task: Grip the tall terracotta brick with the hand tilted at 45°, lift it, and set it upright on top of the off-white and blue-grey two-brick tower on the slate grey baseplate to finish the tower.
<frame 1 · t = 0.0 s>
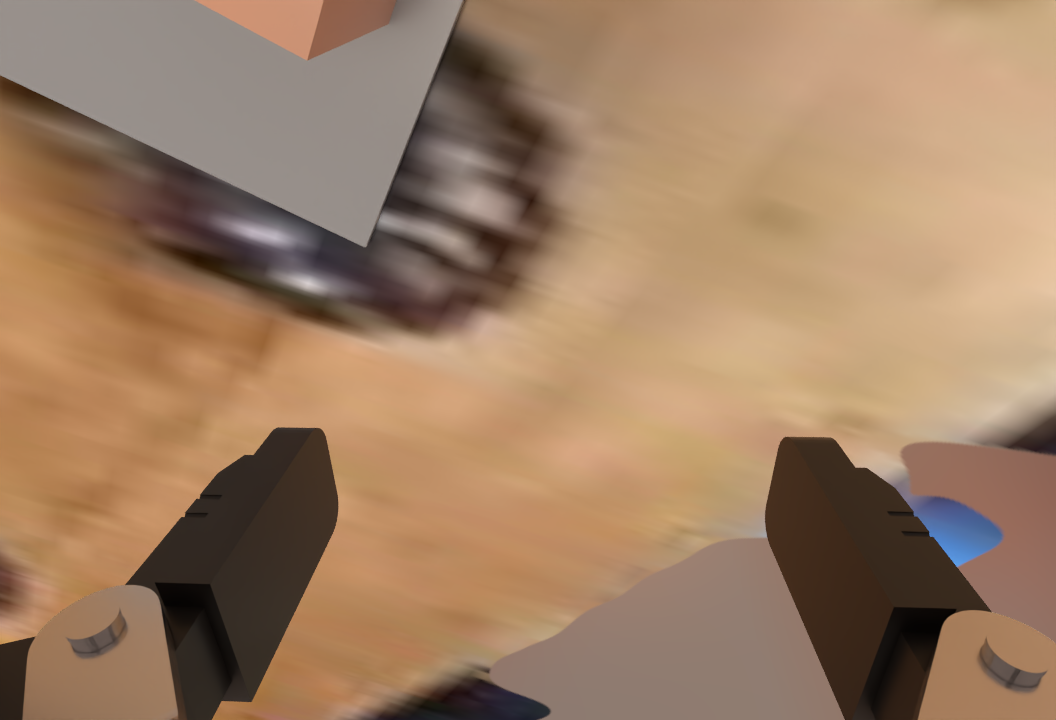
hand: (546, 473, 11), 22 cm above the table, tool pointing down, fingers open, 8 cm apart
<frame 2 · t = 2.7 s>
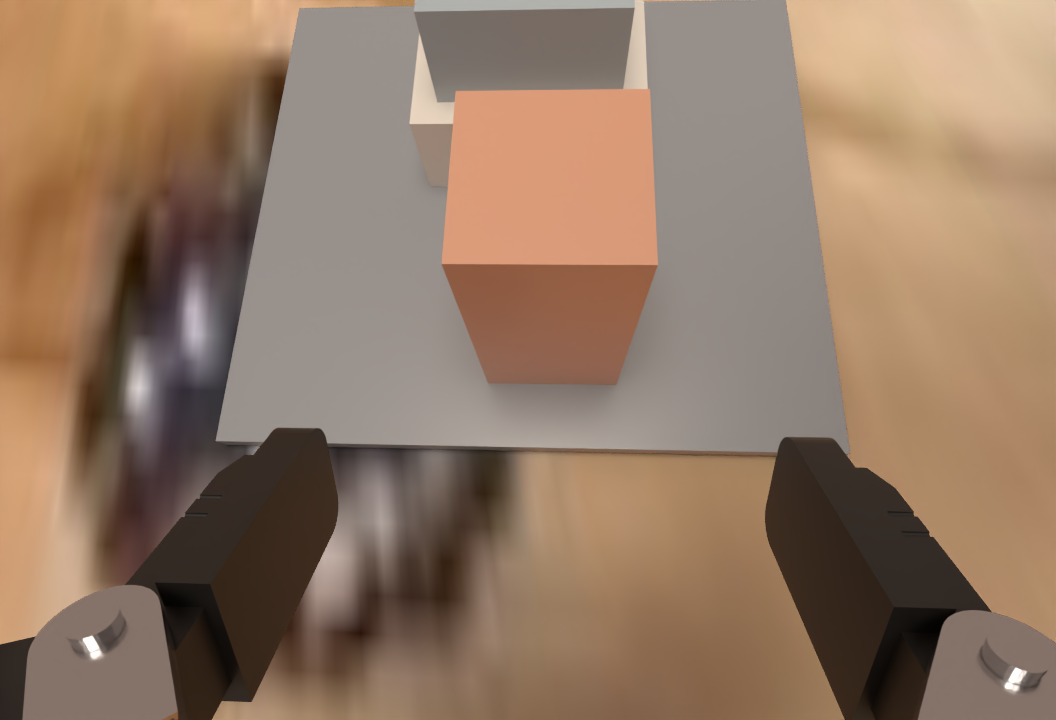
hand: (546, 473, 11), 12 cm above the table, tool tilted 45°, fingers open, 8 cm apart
baseplate: (532, 206, 27), on the table
tower base: (534, 102, 28), resting on baseplate
terracotta brick: (552, 324, 24), point 1 cm above the table, touching baseplate
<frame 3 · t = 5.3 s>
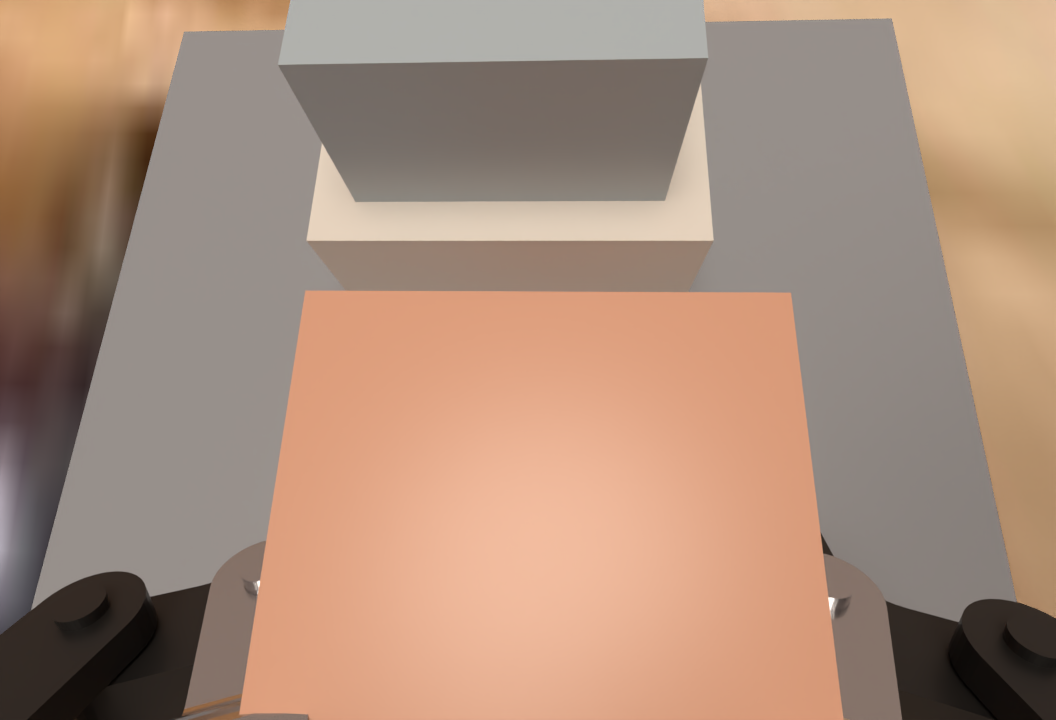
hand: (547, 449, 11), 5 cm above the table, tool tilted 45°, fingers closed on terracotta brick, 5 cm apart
baseplate: (518, 337, 18), on the table
tower base: (522, 176, 18), resting on baseplate
terracotta brick: (549, 552, 15), point 1 cm above the table, touching baseplate, gripper
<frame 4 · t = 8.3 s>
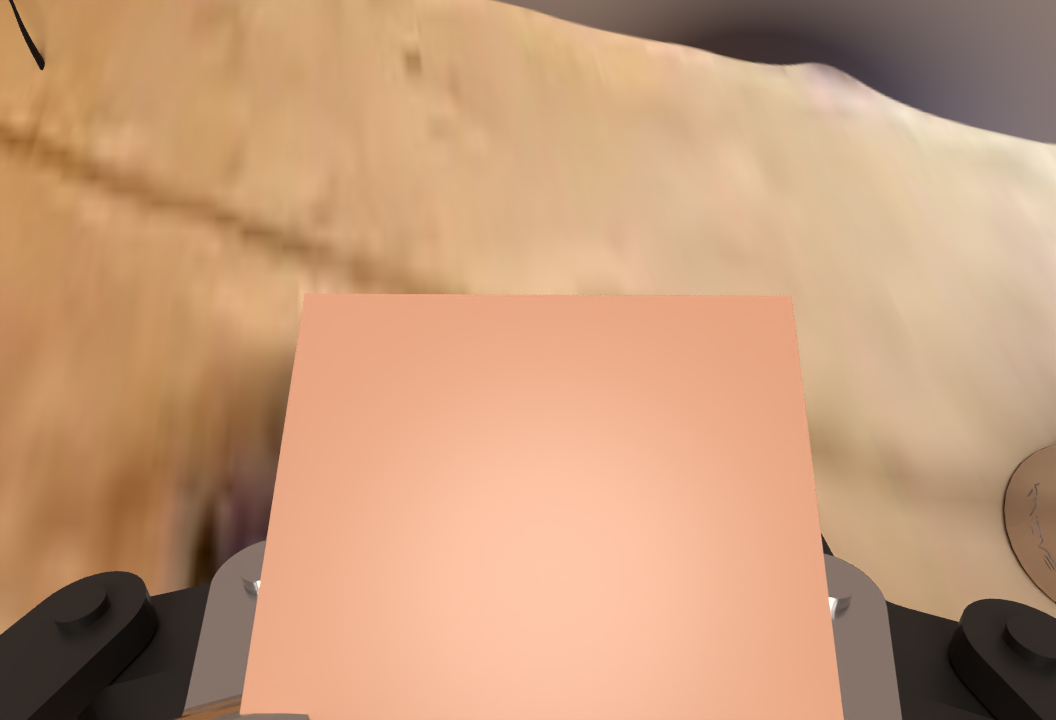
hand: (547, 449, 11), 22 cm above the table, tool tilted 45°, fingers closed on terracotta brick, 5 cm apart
terracotta brick: (549, 554, 15), point 18 cm above the table, touching gripper
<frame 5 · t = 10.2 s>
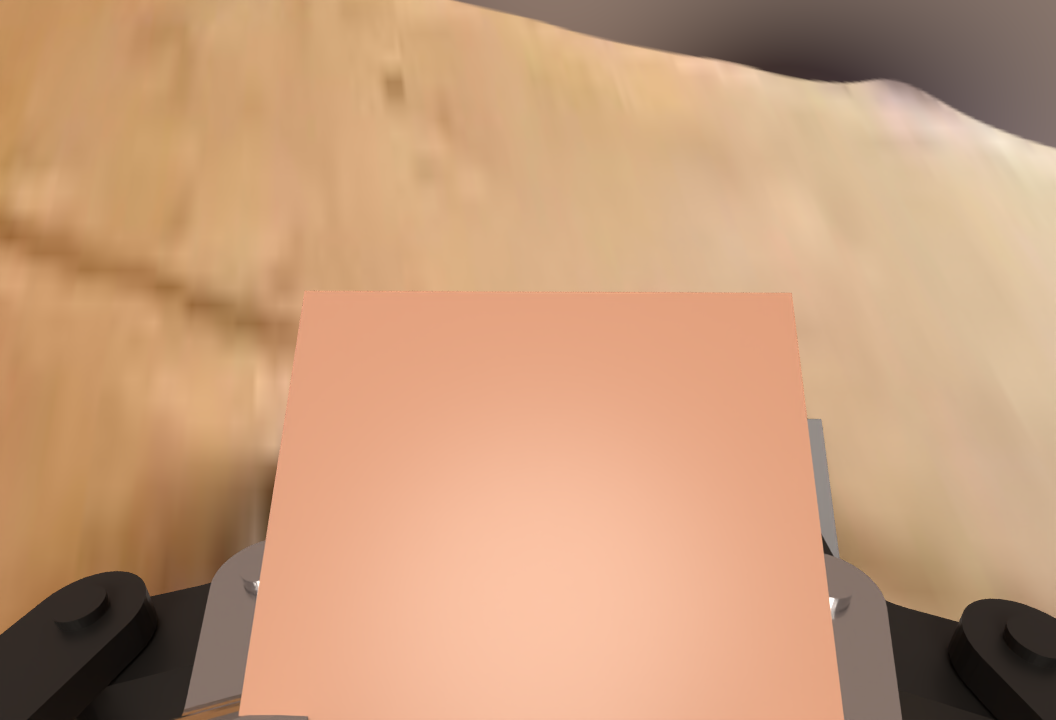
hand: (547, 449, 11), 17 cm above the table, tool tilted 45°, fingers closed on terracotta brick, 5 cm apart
baseplate: (554, 676, 25), on the table
terracotta brick: (549, 553, 15), point 12 cm above the table, touching gripper
when the fingers open (15 cm above the table, at t = 11.6 s): terracotta brick drops 1 cm, resting on tower base.
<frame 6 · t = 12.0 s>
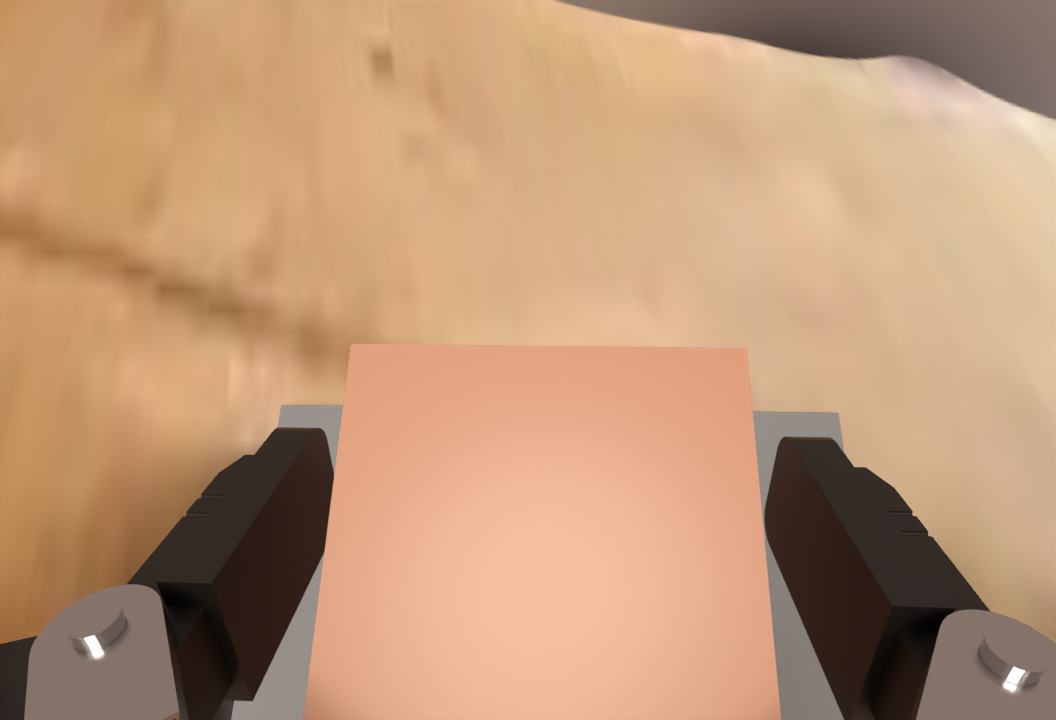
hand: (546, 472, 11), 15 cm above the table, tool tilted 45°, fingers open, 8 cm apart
baseplate: (549, 691, 23), on the table
terracotta brick: (550, 555, 16), point 9 cm above the table, touching tower base
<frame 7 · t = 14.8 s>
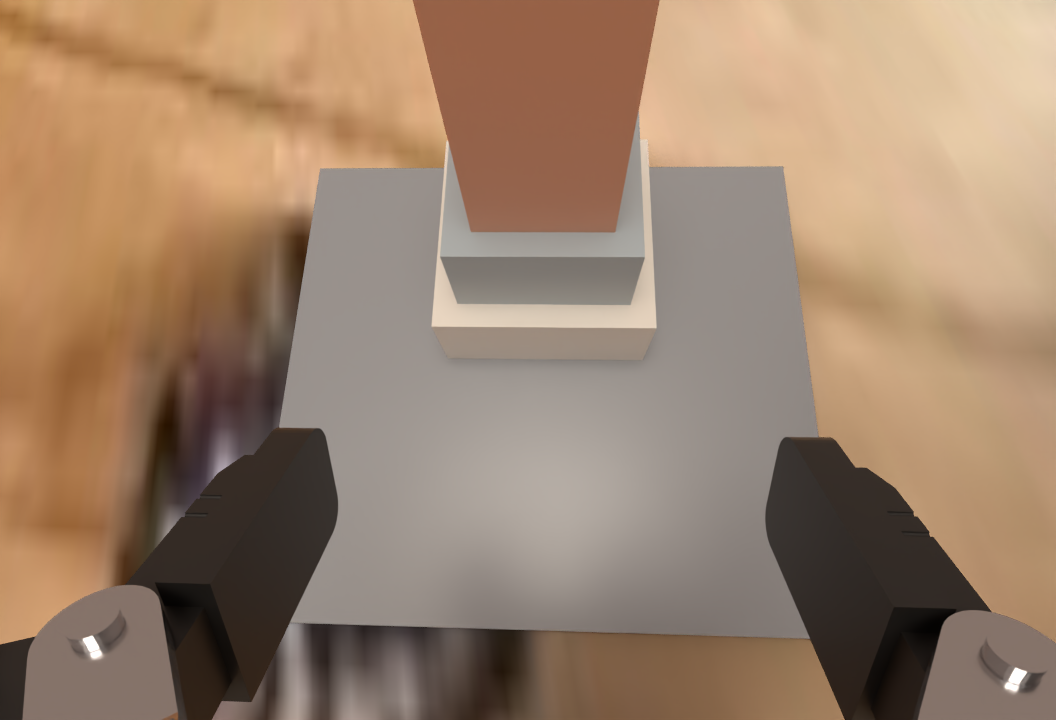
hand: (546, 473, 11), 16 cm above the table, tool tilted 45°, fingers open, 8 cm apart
baseplate: (544, 374, 28), on the table
tower base: (545, 271, 29), resting on baseplate
terracotta brick: (544, 171, 21), point 9 cm above the table, touching tower base
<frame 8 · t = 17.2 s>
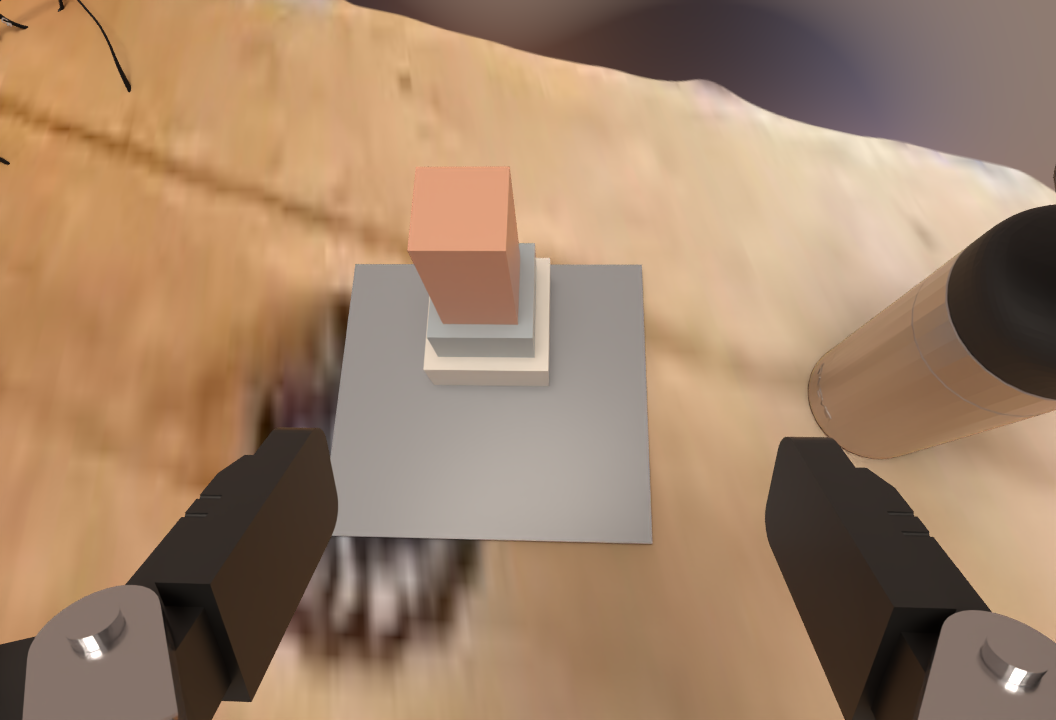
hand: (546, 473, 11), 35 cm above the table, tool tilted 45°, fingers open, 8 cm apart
baseplate: (492, 394, 47), on the table
eyeglasses: (43, 83, 60), on the table
tower base: (493, 331, 48), resting on baseplate
terracotta brick: (482, 289, 40), point 9 cm above the table, touching tower base
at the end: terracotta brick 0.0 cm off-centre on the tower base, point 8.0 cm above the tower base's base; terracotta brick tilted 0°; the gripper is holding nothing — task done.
